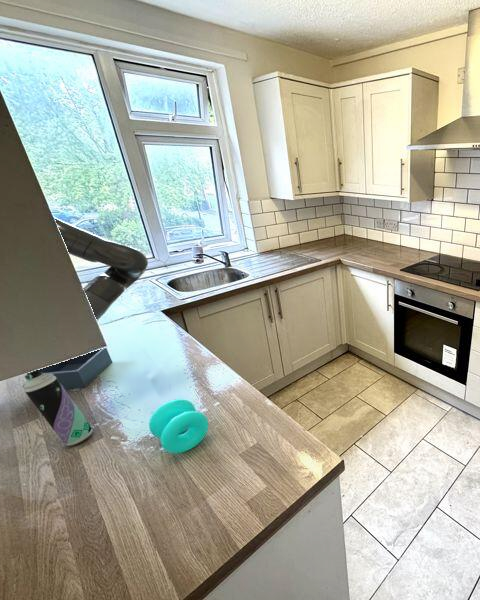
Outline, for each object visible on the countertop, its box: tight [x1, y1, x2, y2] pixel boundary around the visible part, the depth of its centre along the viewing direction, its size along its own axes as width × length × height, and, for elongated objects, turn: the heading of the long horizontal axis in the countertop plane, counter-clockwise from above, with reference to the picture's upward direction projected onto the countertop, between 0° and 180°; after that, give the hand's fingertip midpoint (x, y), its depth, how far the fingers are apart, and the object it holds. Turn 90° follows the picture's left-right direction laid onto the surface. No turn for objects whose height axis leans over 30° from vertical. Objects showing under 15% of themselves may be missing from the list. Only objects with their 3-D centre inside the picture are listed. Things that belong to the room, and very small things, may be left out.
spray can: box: [21, 370, 94, 447], centre depth 78 cm, size 6×6×20 cm
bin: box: [24, 347, 113, 390], centre depth 104 cm, size 14×14×6 cm
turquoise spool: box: [148, 398, 209, 454], centre depth 80 cm, size 10×10×10 cm
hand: (25, 367), depth 76 cm, fingers open, 8 cm apart
